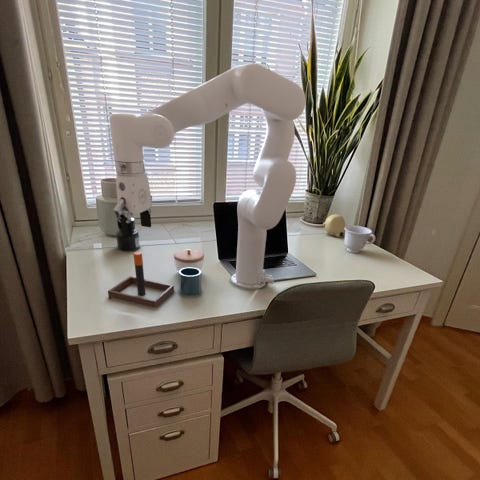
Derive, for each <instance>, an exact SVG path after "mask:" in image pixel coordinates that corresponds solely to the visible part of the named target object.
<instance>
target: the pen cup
mask: <svg viewBox="0 0 480 480" xmlns="http://www.w3.org/2000/svg"><path fill="white" fill-rule="evenodd" d="M178 282H179V283H178V288H179V293H180V294H181V295H183V296H188V297H192V296H193V297H194V296H197V295H199V294H200V293H201V292H202V270H201V271H200V270H199V269H197V268H193V267H187V268H183V269H181V270H179V272H178Z"/></svg>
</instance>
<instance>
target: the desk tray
mask: <svg viewBox="0 0 480 480" xmlns="http://www.w3.org/2000/svg"><path fill="white" fill-rule="evenodd" d="M144 282H145V287H146V288H152V289H156V290H161V291H163V292H162V293H160V294H159V295H158V296H157V297H156V298H155V299H151V298H146V297H143V296H139V295H133V294H129V293H125V292H122V291H124V290H125V289H127V288H128V287H130V286H131V285H137V281H136V276H131V275H129V276H128V277H126V278H125V279H123V280H122V281H121V282H119V283H118V284H116V285H114V286H113V287H111V288H110V289H109V290H107V295H108V296H107V297H108V299H109V300H112V299H115V300H118V301H119V300H120V301H124V302H128V303H132V304H136V305H142V306H146V307H150V308H154V309H156V308H157V307H159V306H160V305H161V304H162V303H163V302H164V301H165V300H166V299H167V298H168V297H170V296H171V295H172V294H173V293H174V292H175V285H174V284H170V283H164V282H160V281H159V282H158V281H155V280H150V279H147V278H146V279H145V278H144Z"/></svg>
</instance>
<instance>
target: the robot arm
mask: <svg viewBox="0 0 480 480" xmlns="http://www.w3.org/2000/svg"><path fill="white" fill-rule="evenodd" d="M306 101H307V100H306V94H305V91H304V90H303V88H302V87H301V86H300V85H299V84H298V83H296V82H295V81H293V80H290V79H289V78H287V77H284V76H282V75H280V74H278V73H277V72H275V71H273V70H271V69H270V68H267V67H266V66H263V65H261V64H258V63H254V62H253V63H245V64H240V65H235V66H233V67H232V68H230V69H228V70H226V71H224V72H222V73H220V74H218V75H216V76H215V77H213V78H211V79H209V80H208V81H205V82H203V83H202V84H200V85H198V86H196V87H194V88H192V89H190V90H189V91H187V92H185V93H184V94H181V95H179V96H177V97H175V98H173V99H171V100H169V101H167V102H165V103H163V104H161V105H159V106H157V107H155V108H154V109H152V110H150V111H148V112H147V113H145V114H143V115H142V116H138V115H136V114H133V113H113V114H111V115H110V117H109V130H110V135H111V136H110V137H111V145H112V151H113V159H114V167H115V174H116V182H115V183H116V186H115V187H116V200H117V203H116V205H115V206H114V208H113V212H114V214H115V216H116V219H119V222H121V229H122V235H123V236H128V237H133V229H132V223H131V222H130V220H131V218H133V217H132V216H133V215H134V216H136V215H139V217H140V226H141V227H145V228H151V227H152V217H151V213H152V209H151V208H152V201H153V196H152V194H151V189H150V183H149V178H148V175H147V172H146V164H145V153H144V147H148V148H155V149H165V148H168V147H169V146H170V145H171V144H172V143H173V141H174V138H175V134H176V133H179V132H180V131H182V130H185V129H188V128H190V127H196V126H202V125H207V124H210V123H212V122H214V121H216V120H218V119H219V118H221V117H223V116H225V115H226V114H228V113H231V112H232V111H234V110H236V109H238V108H241V107H242V106H243V105H247V104H248V105H253V106H255V107H257V108H259V109H260V111H261V113H262V114H263V117H264V121H265V124H266V131H265V132H266V133H265V136H264V140H263V144H262V147H261V149H260V152H259V154H258V157H257V160H256V162H255V165H254V168H253V171H252V177H253V180H254V182H255V183H256V185H258V186H259V187H261V188H262V189H261V191H260V190H258V189H248V190H245V191H244V192H243V193H242V194H240V196H239V198H238V200H237V206H236V207H237V208H236V209H237V210H236V212H237V224H238V225H237V226H238V227H237V229H238V230H237V247H236V261H235V265H236V266H235V273H234V274H233V275H232V276H231V278H230V281H231V283H232V284H233V285H234V286H236V287H238V288H243V289H249V290H251V289H257V290H259V289H261V288H263V287H264V286H266V283H268V284H274V281H275V278H274V277H273V275H271V274H267V273H266V270H265V269H264V263H265V254H266V253H265V252H266V242H267V231H268V230H272V229H273V228H275V227H276V226H277V225H278V224H279V223H280V221H281V219H282V218H283V215H284V213H285V211H286V208H287V206H288V203H289V202H290V199H291V197H292V194H293V192H294V189H295V186H296V182H297V171H296V168H295V165H294V164H293V163H292V162H291V161H289V160H288V159H289V157H290V154H291V151H292V148H293V145H294V141H295V135H296V131H295V129H296V128H295V122H294V120H297V119H298V118H300V116H301V115H302V114H303V113H304V110H305V108H306ZM126 217H127V218H126Z"/></svg>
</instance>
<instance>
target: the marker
mask: <svg viewBox="0 0 480 480" xmlns="http://www.w3.org/2000/svg"><path fill="white" fill-rule="evenodd" d="M143 259H144V258H143V252H142V251H135V252H133V262H134V272H135V277H136V281H137V284H136V288H137V296H138V297H143V296H146V286H145V282H144V279H145V276H144V275H145V274H144V273H145V272H144V261H143Z"/></svg>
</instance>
